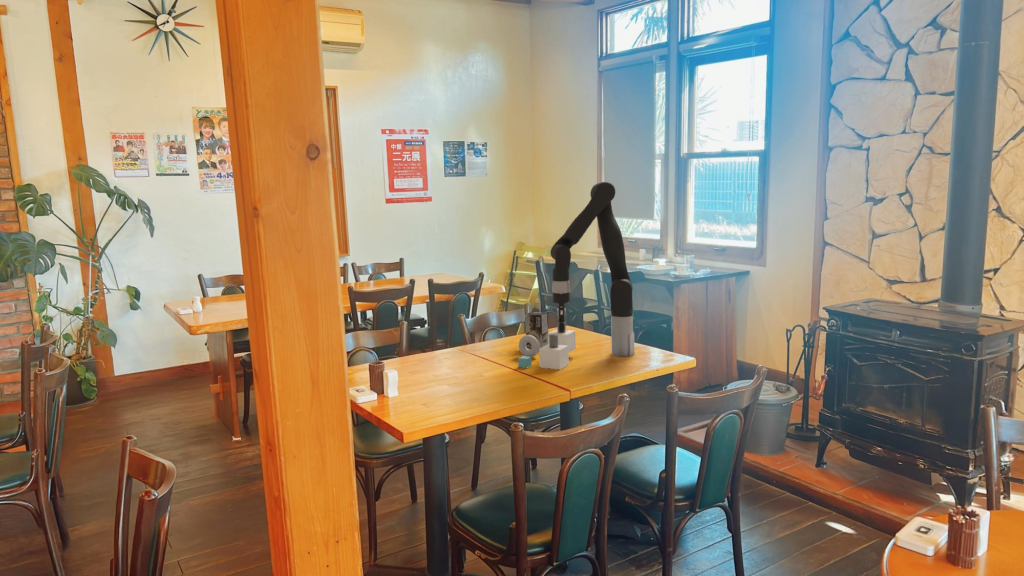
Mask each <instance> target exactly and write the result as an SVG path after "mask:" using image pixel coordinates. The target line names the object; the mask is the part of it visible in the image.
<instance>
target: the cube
mask: <svg viewBox="0 0 1024 576" xmlns="http://www.w3.org/2000/svg"><path fill="white" fill-rule="evenodd" d="M517 360H518V362H517V364H518V368H519V367H524V368H523V369H528V368H527V367H529V366H531V367H532V357H528V356H524V355H522V356H520V357H518V359H517ZM529 368H530V367H529Z"/></svg>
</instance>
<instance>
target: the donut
mask: <svg viewBox="0 0 1024 576" xmlns="http://www.w3.org/2000/svg"><path fill="white" fill-rule="evenodd" d="M528 342H529V343H531V345H532V348H527V347H526V344H527V343H528ZM518 348H519V351H520V353H521V354H522V356H528V357H531V358H533V357H536V356H537V355H538V354H539V348H540V346H539V342H538V340H537V339H536V338H535V337H534V336H532V335H526V334H525V335H523V336H521V338H520V339H519V341H518Z"/></svg>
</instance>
